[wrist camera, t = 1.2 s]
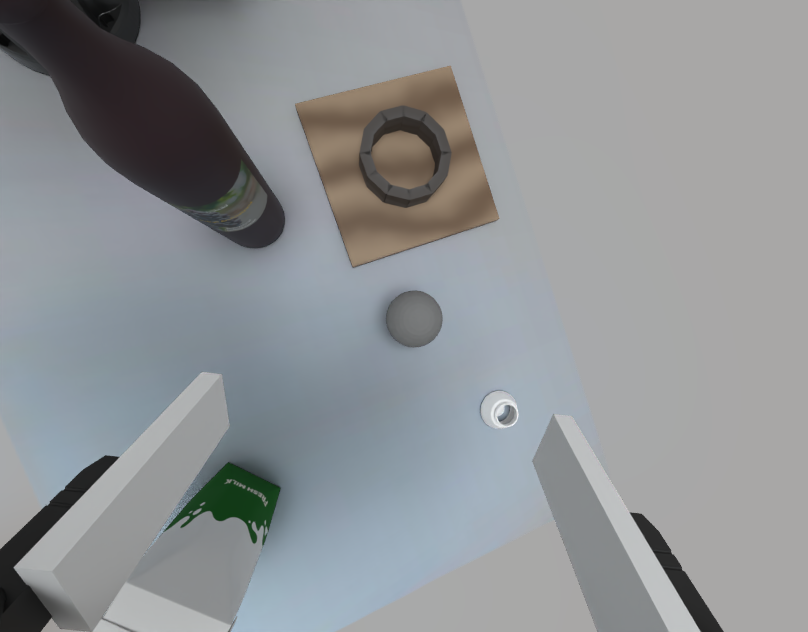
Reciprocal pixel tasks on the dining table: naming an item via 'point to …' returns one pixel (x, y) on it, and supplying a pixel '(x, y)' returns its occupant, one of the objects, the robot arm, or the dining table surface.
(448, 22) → the dining table surface
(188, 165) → the wine bottle
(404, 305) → the light bulb
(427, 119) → the lamp holder
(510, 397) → the lidless jar
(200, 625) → the milk carton
